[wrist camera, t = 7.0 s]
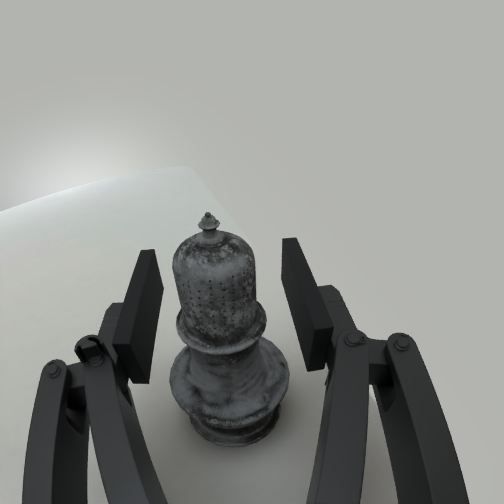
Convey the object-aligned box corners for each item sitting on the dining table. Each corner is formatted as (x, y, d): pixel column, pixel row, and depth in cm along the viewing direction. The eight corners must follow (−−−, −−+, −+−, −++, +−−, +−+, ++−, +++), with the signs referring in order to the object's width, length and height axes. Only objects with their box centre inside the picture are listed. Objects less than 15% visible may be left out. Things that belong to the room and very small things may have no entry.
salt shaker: (269, 463, 13) (278, 287, 6) (167, 431, 14) (78, 248, 8) (295, 378, 18) (314, 187, 11) (206, 357, 19) (174, 177, 13)
